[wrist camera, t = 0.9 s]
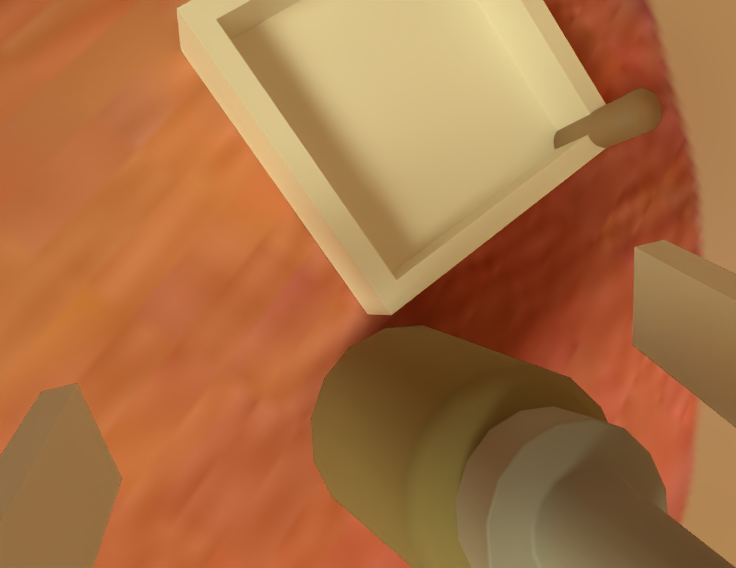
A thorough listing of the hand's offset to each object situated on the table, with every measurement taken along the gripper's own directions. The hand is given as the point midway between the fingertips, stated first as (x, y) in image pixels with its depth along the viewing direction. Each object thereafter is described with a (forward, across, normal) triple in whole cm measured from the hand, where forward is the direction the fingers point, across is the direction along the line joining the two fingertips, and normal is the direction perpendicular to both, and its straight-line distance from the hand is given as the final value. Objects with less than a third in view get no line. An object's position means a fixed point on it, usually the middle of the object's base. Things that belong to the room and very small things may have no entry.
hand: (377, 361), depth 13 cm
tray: (+16, +5, +3) cm, 17 cm away
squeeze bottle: (+10, +1, -9) cm, 13 cm away
